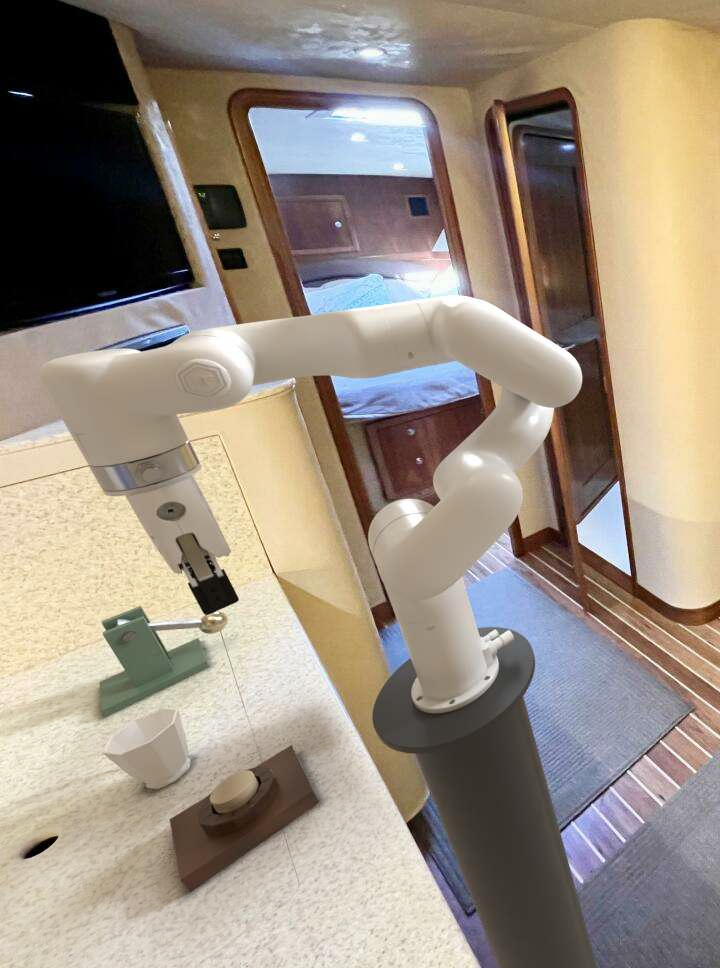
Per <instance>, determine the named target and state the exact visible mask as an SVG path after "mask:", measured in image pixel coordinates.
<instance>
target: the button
mask: <svg viewBox="0 0 720 968" xmlns="http://www.w3.org/2000/svg"><path fill="white" fill-rule="evenodd" d="M245 770H246V771H244V770H240V771H238V772H234V773H233V774H231V775H229V776H227V777H226V778H225V779H223V780H222V781H221V782H219V783H218V784H217V785H216V786H215V787H214V789H212V790H213V792H212V791H211V792H212V793H211V792H210V793H211V796H210V802H211V804H212V805H213V807H214V808H215V810H216V812H218V813H220V814H226V813H229V812H232V811H234V810H236V809H237V808H239V807H241V806H242V805H244V804H245V803H247V802H248V801H249V800H250V799H251V798H252V797H253V796H254V795H255V794H256V792H257V790H258V788H259V783H258V781H257V779H256V777H255V776H254V774H253V772H251V771H247V769H245Z"/></svg>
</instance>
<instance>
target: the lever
mask: <svg viewBox="0 0 720 968" xmlns="http://www.w3.org/2000/svg"><path fill="white" fill-rule="evenodd" d="M134 619H136V618H132V619H117V621H116V624H115V627H117V626H119V625H122V624H124V623H127V622H129V621H131V620H134ZM228 619H229V618H228V615H226V614H225V613H224V612H222V611H216V612H213V613H211V614H209V615H205V614H204V615H203V616H202V617H201V618H200V619H189V620H187V619H186V620H174V621H160V622H158V621H157V622H151V623H148V625H149V627H150V628H151V630H152V631H156V632H158V631H159V632H161V631H172V630H173V631H174V630H187V629H199V631H201V633H204V634H207V635H208V634H209V635H212V634H217V633H219V632H221V631H222V630H223V629H225V628H226V626H227V625H228Z"/></svg>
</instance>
